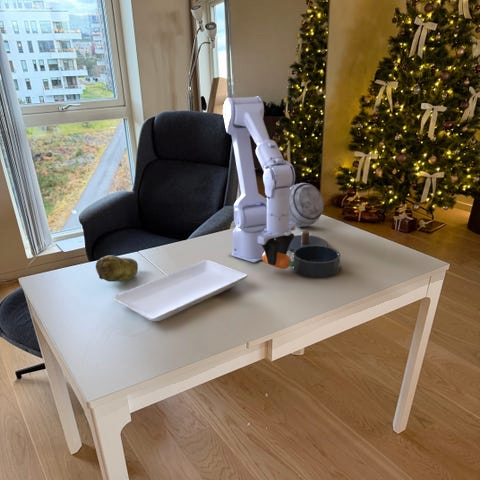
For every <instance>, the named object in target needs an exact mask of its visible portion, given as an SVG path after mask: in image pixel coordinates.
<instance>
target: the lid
mask: <svg viewBox="0 0 480 480" xmlns="http://www.w3.org/2000/svg"><path fill="white" fill-rule="evenodd" d="M308 245H319V246H326V247H328V241H327V240H326V239H324V238H322V237H320V236H315V235H310V231H308V230H303V231H301V234H298V235H297V234H296V235H294V238H293V240H292V241H291V243H290V245H289V248H288V250H289V251H292V252H294V250H295V249H297V248H299V247H303V246H308Z"/></svg>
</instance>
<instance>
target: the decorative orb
mask: <svg viewBox="0 0 480 480" xmlns="http://www.w3.org/2000/svg"><path fill="white" fill-rule="evenodd" d="M324 208H325V203H324V198H323V195H322V194H321V192H320V191H319V189H318V188H317V187H316V186H314V185H313V184H311V183H308V182H307V183H306V182H301V183H296V184H294V185H293V186H292V187H290V200H289V222H294V223H296V227H299V228H304V227H309V226H311V225H313V224H315V223H316V222H317V221H318V220H319V219H320V218H321V217H322V214H323V212H324Z"/></svg>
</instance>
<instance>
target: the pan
mask: <svg viewBox="0 0 480 480" xmlns="http://www.w3.org/2000/svg"><path fill="white" fill-rule="evenodd" d="M341 257H342V256H341V253H340V252H339V250H337V249H335V248H333V247H330V246H327V247H326V246H319V245H308V246H303V247H299V248H297V249H295V250H294V251H292V258H291V261H292V262H294V263H295V264H294V266H293V267H291V268H292V270H293V272H294V273H295V274H297V275H299V276H302V277H305V278H311V279H324V278H325V279H326V278H330V277H333V276H335V275H337V274H338V273H339V270H340V264H341Z"/></svg>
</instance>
